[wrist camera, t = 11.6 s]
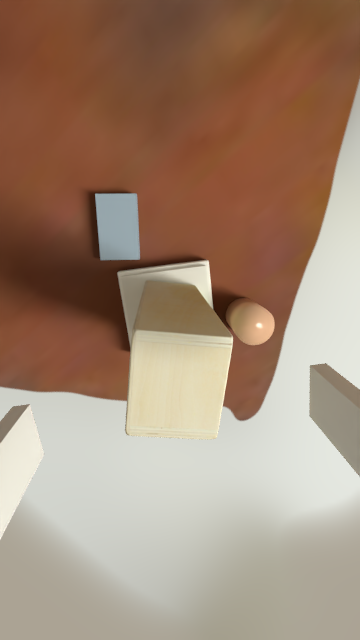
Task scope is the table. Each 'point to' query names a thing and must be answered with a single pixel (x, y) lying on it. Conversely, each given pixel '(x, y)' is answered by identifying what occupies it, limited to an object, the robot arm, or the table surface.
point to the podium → (171, 273)
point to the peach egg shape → (250, 321)
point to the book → (118, 226)
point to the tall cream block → (176, 364)
